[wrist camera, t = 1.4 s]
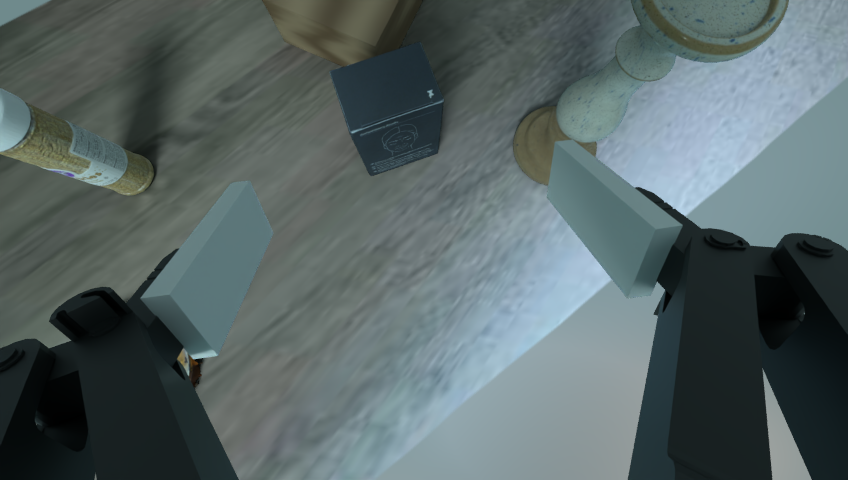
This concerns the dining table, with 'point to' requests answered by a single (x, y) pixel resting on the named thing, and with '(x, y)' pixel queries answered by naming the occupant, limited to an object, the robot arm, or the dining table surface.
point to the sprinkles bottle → (68, 148)
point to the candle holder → (643, 70)
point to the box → (391, 107)
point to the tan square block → (344, 26)
